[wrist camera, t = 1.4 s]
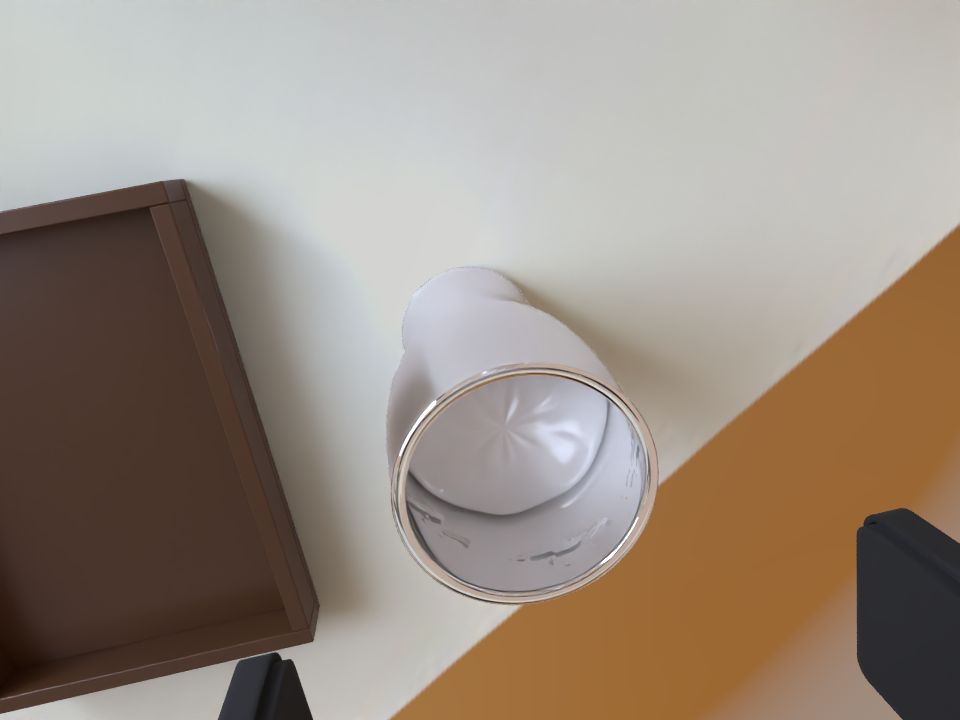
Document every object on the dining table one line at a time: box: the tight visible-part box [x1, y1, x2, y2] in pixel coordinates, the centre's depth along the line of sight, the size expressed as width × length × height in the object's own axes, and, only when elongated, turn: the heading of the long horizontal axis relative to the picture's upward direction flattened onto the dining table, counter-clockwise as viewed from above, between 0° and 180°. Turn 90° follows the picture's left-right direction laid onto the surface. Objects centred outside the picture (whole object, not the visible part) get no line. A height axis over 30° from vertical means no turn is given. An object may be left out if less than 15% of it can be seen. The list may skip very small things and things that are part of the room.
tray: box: [0, 179, 320, 714], centre depth 28 cm, size 22×16×3 cm
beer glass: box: [386, 267, 658, 605], centre depth 23 cm, size 7×7×15 cm
